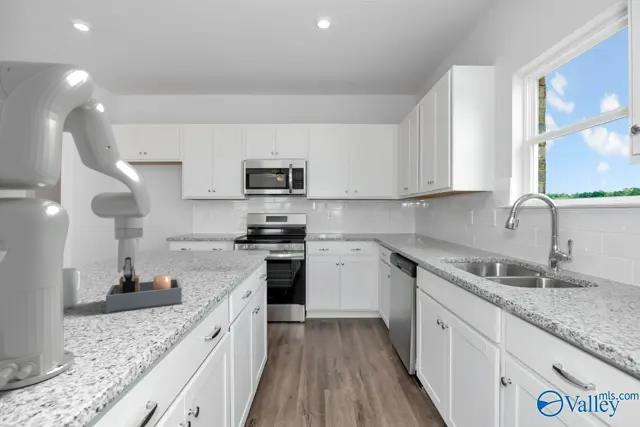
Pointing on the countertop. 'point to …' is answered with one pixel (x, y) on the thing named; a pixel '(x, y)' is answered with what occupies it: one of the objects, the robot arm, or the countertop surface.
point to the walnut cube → (136, 279)
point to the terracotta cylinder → (161, 282)
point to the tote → (143, 297)
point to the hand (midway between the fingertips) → (129, 291)
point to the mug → (70, 287)
